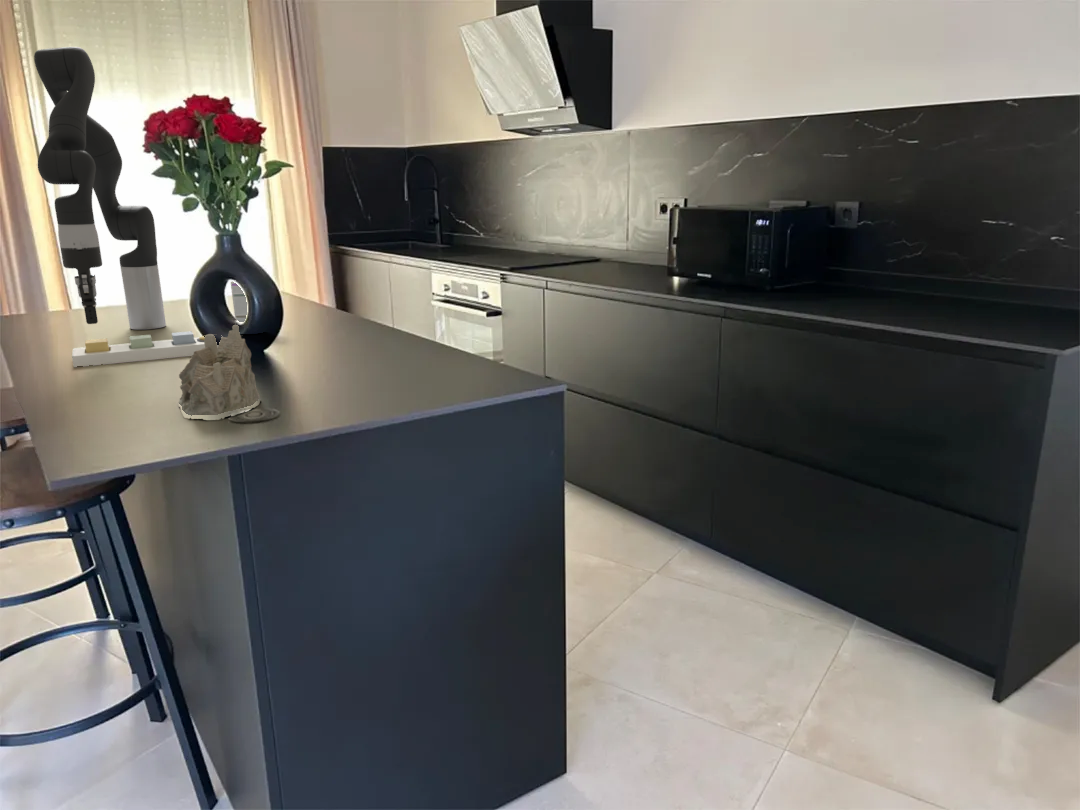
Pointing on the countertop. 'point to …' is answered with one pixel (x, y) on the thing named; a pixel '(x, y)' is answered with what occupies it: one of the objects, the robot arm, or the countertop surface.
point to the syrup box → (239, 302)
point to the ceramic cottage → (218, 377)
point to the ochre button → (96, 345)
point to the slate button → (183, 338)
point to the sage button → (141, 341)
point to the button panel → (136, 352)
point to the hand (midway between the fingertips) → (92, 323)
